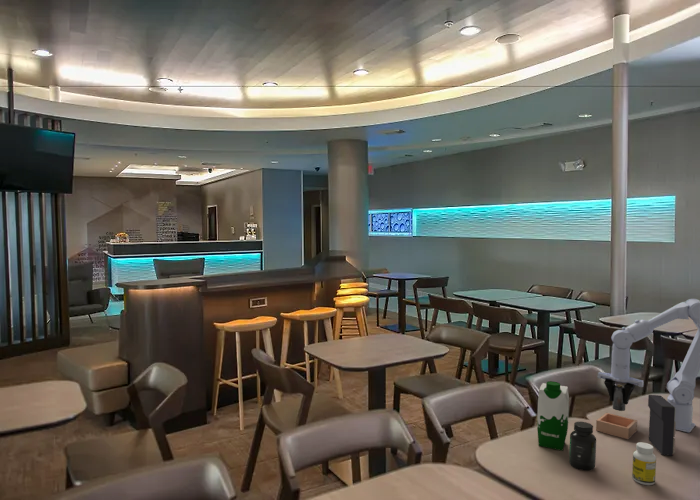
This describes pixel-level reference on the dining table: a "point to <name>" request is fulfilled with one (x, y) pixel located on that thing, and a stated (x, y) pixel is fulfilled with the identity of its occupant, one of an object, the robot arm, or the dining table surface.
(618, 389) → the pepper mill
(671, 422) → the black box
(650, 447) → the supplement bottle
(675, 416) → the robot arm
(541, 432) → the milk carton
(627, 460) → the dining table surface
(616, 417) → the tray
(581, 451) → the supplement bottle
